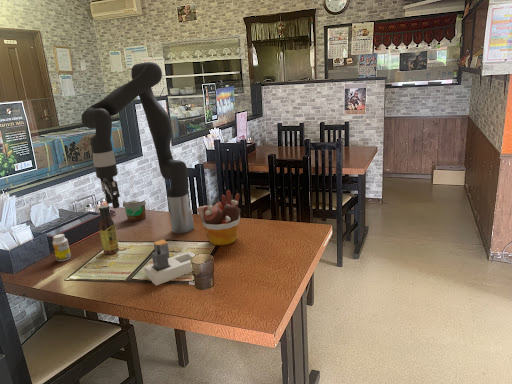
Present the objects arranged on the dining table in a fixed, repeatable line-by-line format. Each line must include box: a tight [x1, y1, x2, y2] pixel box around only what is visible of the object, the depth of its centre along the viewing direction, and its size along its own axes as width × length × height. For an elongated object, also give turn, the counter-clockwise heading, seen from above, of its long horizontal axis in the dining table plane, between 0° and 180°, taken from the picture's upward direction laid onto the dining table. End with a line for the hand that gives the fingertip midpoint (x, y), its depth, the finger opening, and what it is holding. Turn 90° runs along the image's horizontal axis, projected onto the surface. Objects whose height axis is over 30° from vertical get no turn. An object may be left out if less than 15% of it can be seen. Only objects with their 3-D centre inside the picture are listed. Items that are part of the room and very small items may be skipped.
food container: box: [122, 199, 147, 223], centre depth 200 cm, size 12×6×10 cm, turn 81°
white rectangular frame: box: [144, 245, 196, 287], centre depth 140 cm, size 18×9×12 cm, turn 127°
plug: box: [152, 238, 170, 258], centre depth 150 cm, size 4×4×8 cm
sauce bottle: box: [98, 204, 119, 255], centre depth 162 cm, size 7×6×20 cm
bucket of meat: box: [196, 189, 241, 247], centre depth 165 cm, size 20×16×20 cm
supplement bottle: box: [52, 233, 72, 262], centre depth 159 cm, size 6×6×10 cm
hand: (113, 205), depth 149 cm, fingers open, 8 cm apart
